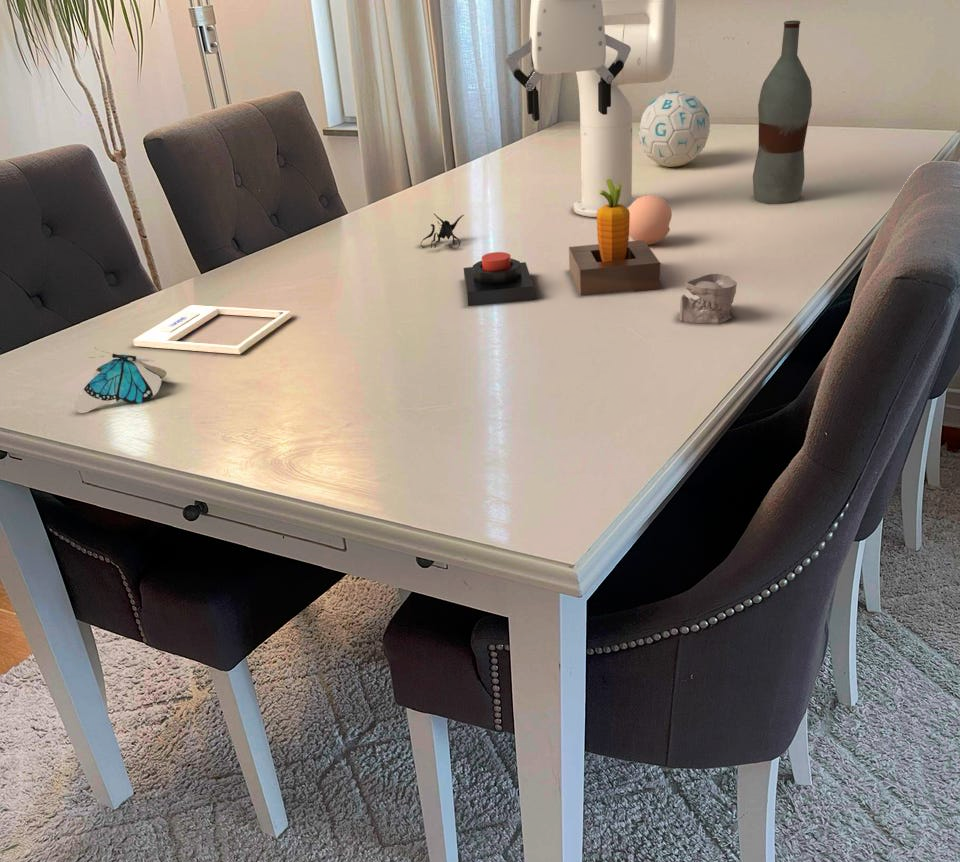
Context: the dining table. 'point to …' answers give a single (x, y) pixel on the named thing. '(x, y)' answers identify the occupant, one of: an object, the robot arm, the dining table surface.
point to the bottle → (783, 125)
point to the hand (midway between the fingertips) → (569, 116)
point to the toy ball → (649, 219)
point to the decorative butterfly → (120, 383)
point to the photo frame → (198, 315)
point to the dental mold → (708, 299)
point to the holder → (614, 270)
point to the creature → (443, 231)
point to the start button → (496, 261)
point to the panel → (498, 284)
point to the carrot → (613, 226)
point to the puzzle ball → (674, 129)
